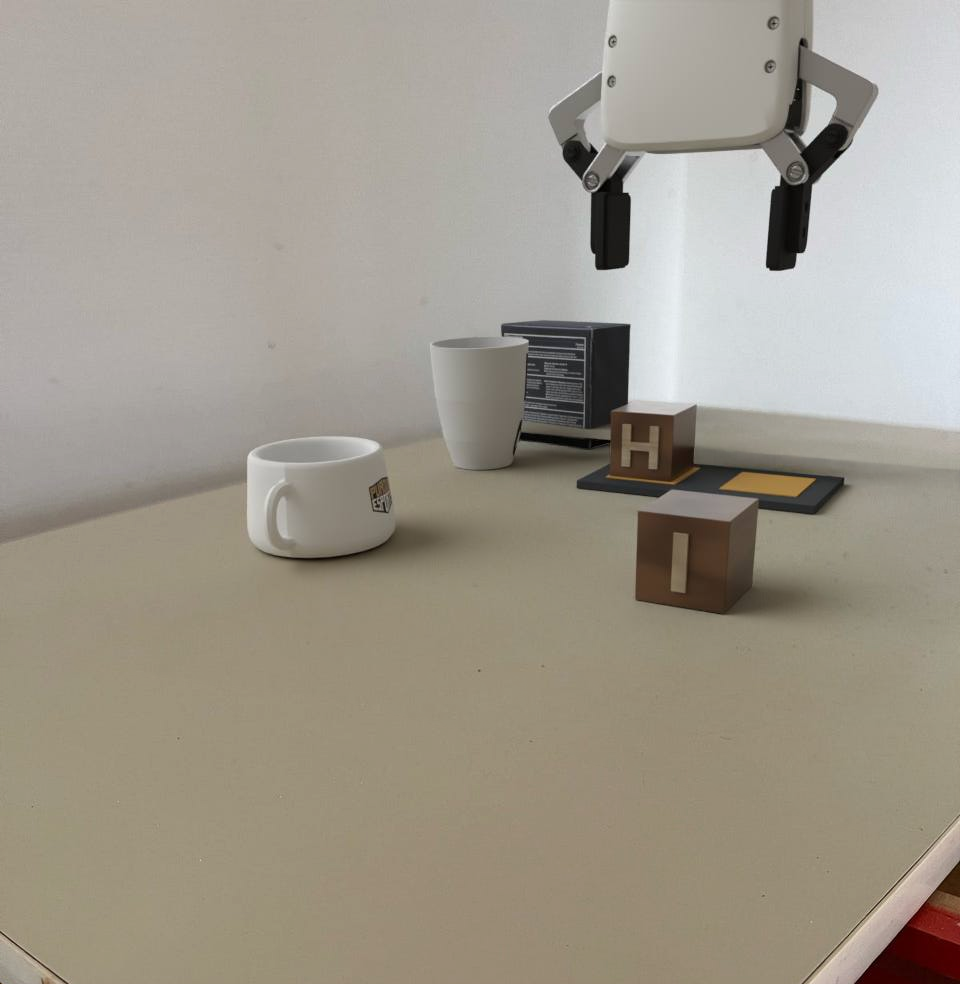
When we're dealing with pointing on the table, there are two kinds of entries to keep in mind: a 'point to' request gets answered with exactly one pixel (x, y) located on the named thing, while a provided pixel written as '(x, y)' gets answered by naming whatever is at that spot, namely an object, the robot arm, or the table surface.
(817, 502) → the word mat
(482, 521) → the table surface
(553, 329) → the small box
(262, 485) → the mug
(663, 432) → the letter h block
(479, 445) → the cup
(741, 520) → the block
